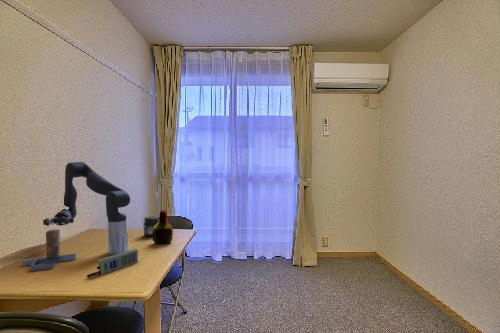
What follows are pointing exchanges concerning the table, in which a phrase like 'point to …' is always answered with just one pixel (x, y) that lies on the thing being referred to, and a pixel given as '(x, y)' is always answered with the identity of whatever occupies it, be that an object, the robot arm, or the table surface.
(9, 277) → the table surface
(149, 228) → the supplement container
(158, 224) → the bottle
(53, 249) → the block
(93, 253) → the table surface
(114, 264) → the handheld radio
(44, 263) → the keeper
